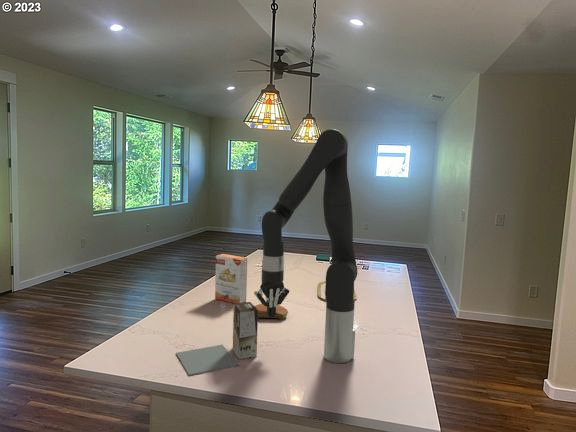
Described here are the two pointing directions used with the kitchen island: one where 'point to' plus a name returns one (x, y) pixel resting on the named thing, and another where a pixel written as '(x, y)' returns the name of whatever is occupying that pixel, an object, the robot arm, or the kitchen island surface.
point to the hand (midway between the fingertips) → (271, 316)
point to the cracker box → (231, 278)
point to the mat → (206, 359)
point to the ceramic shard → (280, 311)
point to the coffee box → (245, 330)
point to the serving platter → (320, 290)
